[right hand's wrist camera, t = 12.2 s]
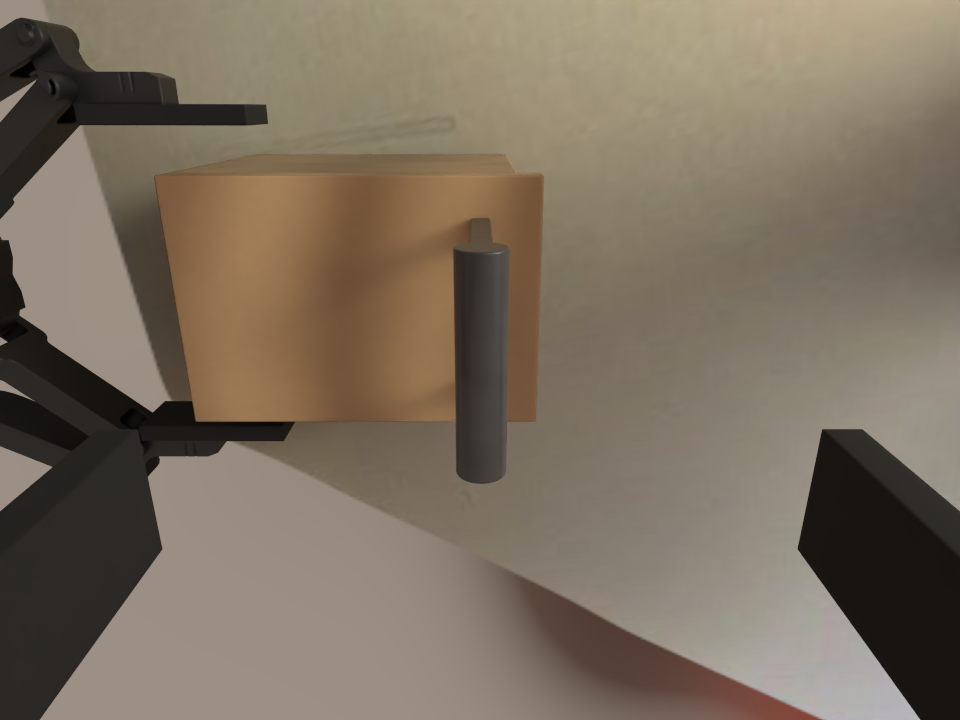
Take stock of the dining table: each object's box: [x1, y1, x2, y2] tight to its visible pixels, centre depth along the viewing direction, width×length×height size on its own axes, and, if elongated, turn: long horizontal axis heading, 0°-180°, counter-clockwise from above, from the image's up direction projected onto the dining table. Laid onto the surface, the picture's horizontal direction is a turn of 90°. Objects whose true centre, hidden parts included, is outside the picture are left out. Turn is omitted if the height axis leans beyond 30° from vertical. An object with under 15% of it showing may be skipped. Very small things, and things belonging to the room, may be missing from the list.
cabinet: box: [171, 155, 515, 173], centre depth 31 cm, size 13×10×10 cm
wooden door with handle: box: [154, 173, 544, 484], centre depth 22 cm, size 14×10×8 cm
